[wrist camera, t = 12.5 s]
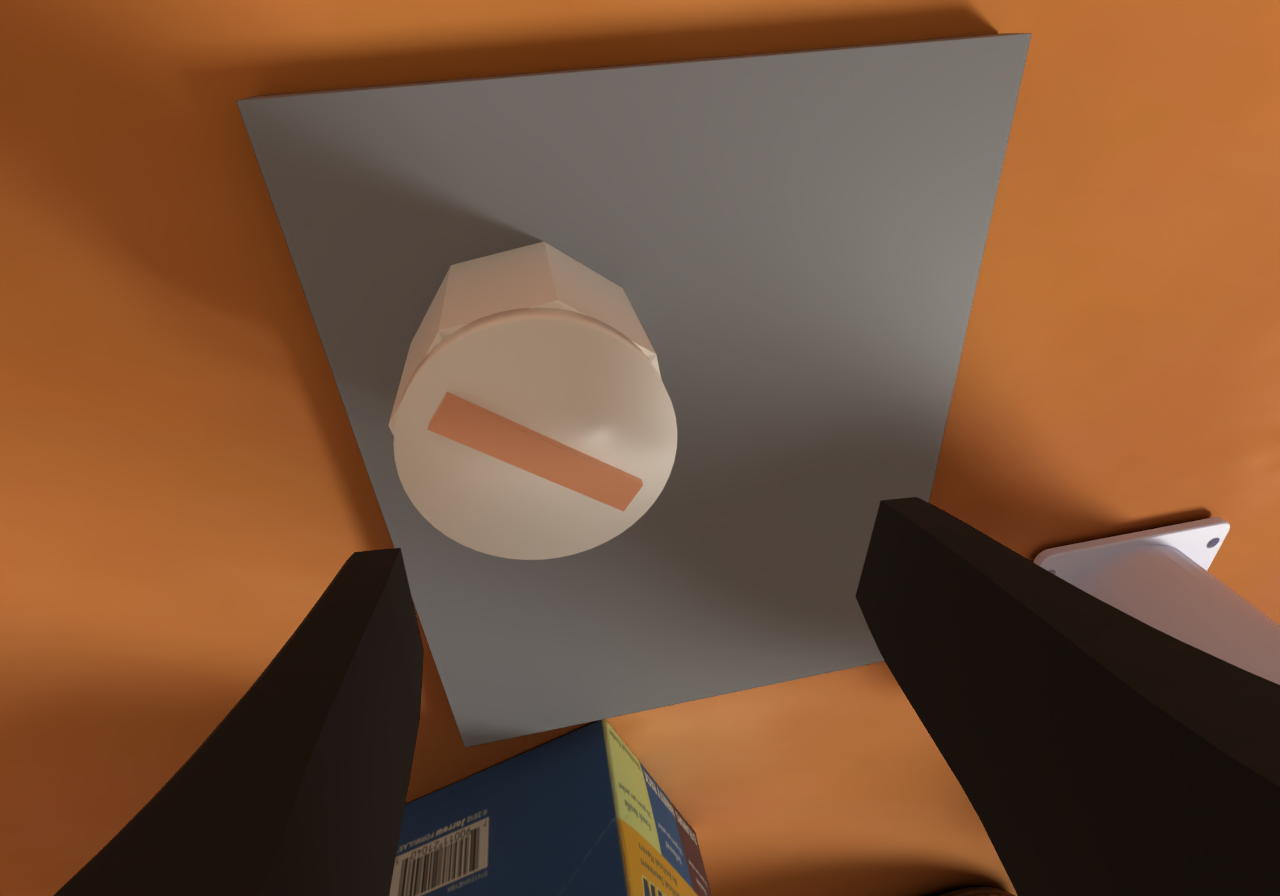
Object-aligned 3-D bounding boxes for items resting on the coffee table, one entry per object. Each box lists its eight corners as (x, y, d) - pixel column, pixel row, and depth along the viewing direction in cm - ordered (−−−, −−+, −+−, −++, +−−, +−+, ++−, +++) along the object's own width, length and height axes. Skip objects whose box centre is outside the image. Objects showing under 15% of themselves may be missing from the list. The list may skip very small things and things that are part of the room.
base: (881, 638, 26) (947, 742, 22) (466, 722, 24) (460, 852, 20) (1001, 33, 15) (1174, 32, 11) (253, 96, 13) (153, 121, 9)
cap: (676, 317, 16) (734, 406, 12) (568, 474, 18) (589, 596, 14) (480, 201, 14) (475, 265, 10) (381, 394, 15) (344, 512, 12)
